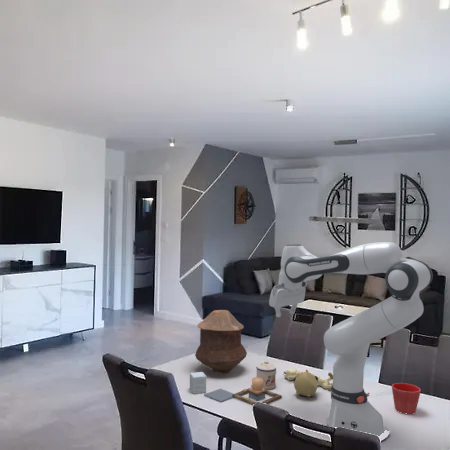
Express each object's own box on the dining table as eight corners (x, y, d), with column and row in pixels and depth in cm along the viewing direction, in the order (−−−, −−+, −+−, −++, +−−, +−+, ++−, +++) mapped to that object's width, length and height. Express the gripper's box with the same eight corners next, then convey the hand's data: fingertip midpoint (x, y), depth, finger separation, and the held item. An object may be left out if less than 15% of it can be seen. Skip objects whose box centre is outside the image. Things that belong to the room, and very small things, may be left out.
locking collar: (281, 398, 200) (281, 394, 200) (259, 407, 189) (259, 404, 189) (254, 388, 211) (254, 385, 211) (232, 397, 200) (232, 393, 200)
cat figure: (336, 389, 216) (288, 373, 231) (338, 371, 216) (290, 356, 230) (327, 396, 208) (278, 378, 223) (329, 377, 208) (280, 360, 222)
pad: (236, 396, 201) (237, 394, 201) (220, 402, 194) (220, 401, 194) (220, 389, 208) (220, 388, 208) (204, 395, 201) (204, 394, 201)
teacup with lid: (267, 391, 208) (268, 365, 207) (251, 386, 214) (252, 360, 213) (283, 384, 217) (283, 359, 216) (267, 379, 223) (268, 355, 222)
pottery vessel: (230, 383, 217) (231, 318, 216) (184, 372, 229) (186, 311, 229) (254, 368, 239) (256, 309, 238) (212, 359, 252) (213, 303, 251)
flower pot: (396, 403, 198) (397, 380, 198) (423, 410, 191) (424, 387, 191) (387, 410, 190) (387, 387, 190) (414, 418, 183) (415, 394, 183)
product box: (202, 387, 210) (203, 371, 210) (206, 392, 204) (206, 376, 204) (189, 389, 208) (189, 372, 208) (192, 394, 202) (193, 377, 202)
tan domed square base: (265, 390, 200) (265, 379, 200) (258, 393, 196) (258, 382, 196) (255, 387, 204) (255, 375, 204) (247, 390, 200) (248, 378, 200)
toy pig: (321, 393, 207) (322, 369, 207) (312, 402, 197) (313, 377, 196) (300, 389, 212) (301, 365, 212) (290, 397, 202) (291, 372, 201)
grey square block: (265, 397, 200) (265, 390, 200) (257, 401, 197) (258, 393, 196) (256, 394, 204) (256, 387, 204) (248, 397, 200) (248, 390, 200)
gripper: (280, 286, 183) (275, 321, 185) (309, 282, 198) (305, 313, 199) (267, 283, 187) (263, 316, 189) (297, 278, 202) (293, 309, 204)
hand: (285, 315), depth 194 cm, fingers open, 8 cm apart
